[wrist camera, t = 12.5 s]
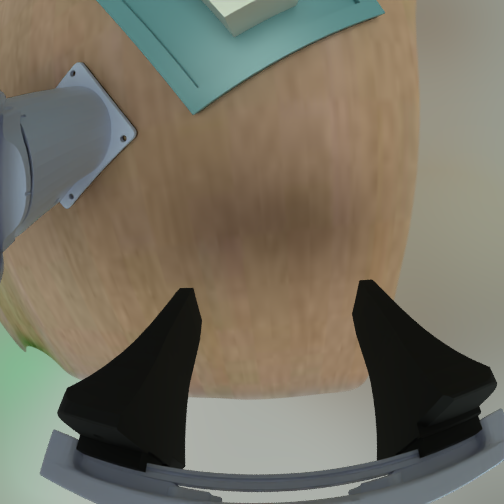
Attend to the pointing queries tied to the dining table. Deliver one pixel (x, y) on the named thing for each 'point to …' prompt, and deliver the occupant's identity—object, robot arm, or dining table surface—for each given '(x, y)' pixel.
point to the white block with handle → (246, 12)
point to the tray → (225, 40)
